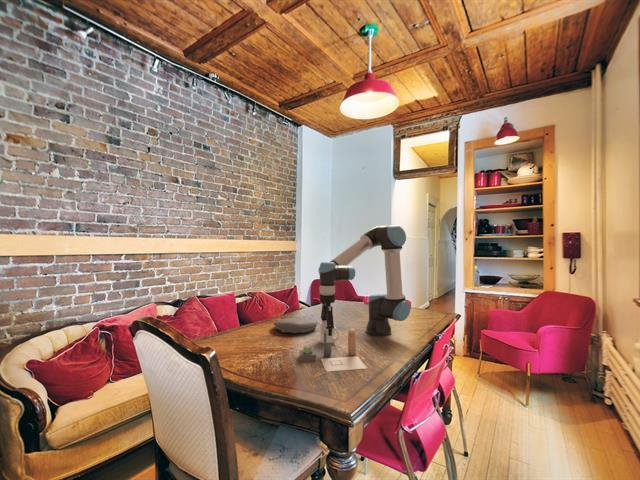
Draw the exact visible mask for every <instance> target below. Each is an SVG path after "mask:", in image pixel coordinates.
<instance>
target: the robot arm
mask: <svg viewBox="0 0 640 480" xmlns="http://www.w3.org/2000/svg"><path fill="white" fill-rule="evenodd" d="M406 241H407V235H406V231H405V230H404V228H403V227H401V226H400V225H397V224H395V225H393V224H391V225H379V226H375V227H373V228H371V229H369V230H368V231H366V232H365V233H363V234H362V235H361V236H360V237H359V239H358V240H357V241H356V242H355V243H353V244H352V245H350V246H349V247H348V248H346V249H345V250H344V251H342V252H341V253H340V254H338V255H337V256H336V257H335V258H333V259H331V260H330V261H323V262H321V263H320V264H319V267H318V274H319V287H318V290H319V303H320V304H321V310H320V311H321V313H320V319H321V321H322V333H321V334H324V330H325V329H327V343H332V342H333V328H334V323H333V321H334V314H333V313H334V311H333V309H334V308H333V306H331V305H332V304H333V303H335V302H336V295H335V293H336V282H343V281H344V282H346V281H353V280H354V279H355V276H356V268H354V266H353V265H350V264H351V263H353V261H355V260H356V259H357V258H359V257H360V256H361V255H363V254H364V253H365V252H367V251H368V250H372V249H374V248H375V247H379V246H380V248H381V251H382V252H383V253H384V265H385V266H384V267H385V284H386V293H378V294H376V293H375V294H371V295H369V296H368V320H367V324H366V327H365V333H366V334H368V335H372V336H377V337H385V336H389V335H391V334H392V328H391V325H390V322H389V319H390V320H393V321H396V322H397V321H398V322H404V321H405V320H406V319H408V317H409V316H410V313H411V303H410V302H409V301H407V300H406V295H405V294H404V293H403V284H402V267H401V251H402V250H403V246H404V245H405V244H406ZM330 325H331V326H330ZM332 344H333V343H332Z"/></svg>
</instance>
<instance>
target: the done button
mask: <svg viewBox="0 0 640 480" xmlns="http://www.w3.org/2000/svg"><path fill="white" fill-rule="evenodd" d="M312 349H313V347H312V346H311V345H304V346H303V349H302V350H303V353H304V354H312Z"/></svg>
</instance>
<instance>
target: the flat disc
mask: <svg viewBox="0 0 640 480" xmlns="http://www.w3.org/2000/svg"><path fill="white" fill-rule="evenodd" d="M318 324H319V322H318V320H317V319H314V318H310V317H286V318H282V319H278V320H275V322H273V325H274V327H275V329H276V330H278V331H281V333H283V334H284V333H291V334H295V335H296V334H298V333H309V332H312V331H314V330H315V329H316V328H317V325H318Z"/></svg>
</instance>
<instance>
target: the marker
mask: <svg viewBox="0 0 640 480" xmlns="http://www.w3.org/2000/svg"><path fill="white" fill-rule="evenodd" d="M323 358H332V344H331V343H327V329H325V330H324V344H323Z"/></svg>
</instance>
